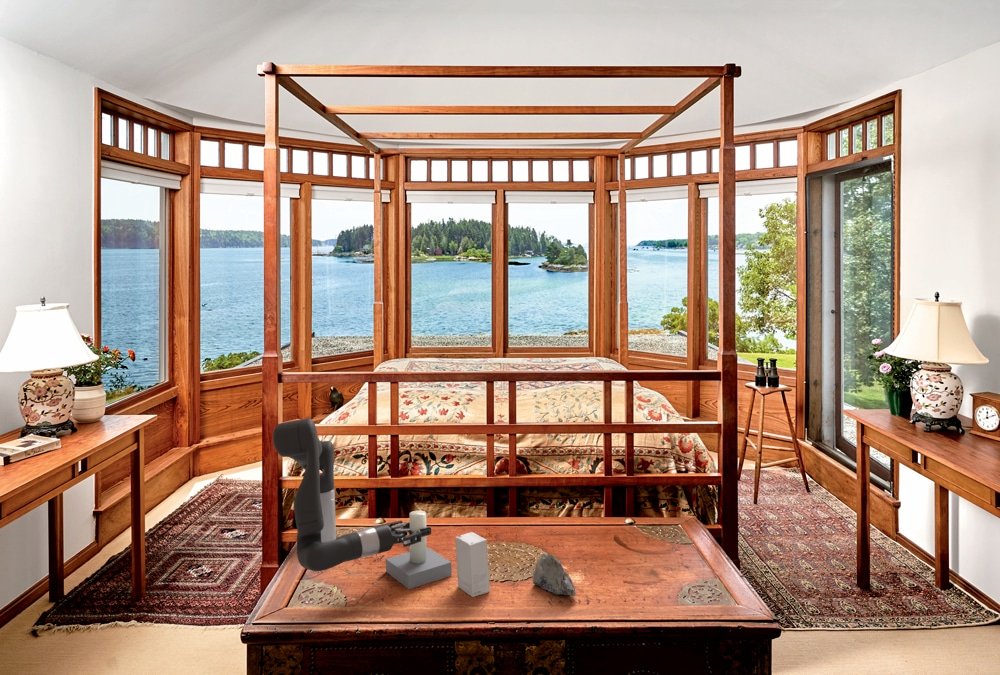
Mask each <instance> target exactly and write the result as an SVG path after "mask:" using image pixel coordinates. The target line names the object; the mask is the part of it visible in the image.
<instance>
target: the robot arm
mask: <svg viewBox="0 0 1000 675" xmlns="http://www.w3.org/2000/svg"><path fill="white" fill-rule="evenodd" d="M272 444H273V447H274V450H275V451H276V452H277V454H278V455H279V456H280V457H283V458H290V459H292V460H293V461H294V462H297V463H298V464H299V466H300V467H301V468H302V469H303V470H305V472H304V474H303V477H302V479H301V482H300V483H299V486H298V488H297V491H296V493H295V497H294V500H293V510H294V518H295V525H296V531H297V532H296V556H297V561H298V562H299V564H300V566H301V567H302V568H304V569H306V570H309V571H312V572H322V571H326V570H328V569H332V568H334V567H337V566H338V565H341V564H343V563H345V562H350V561H353V560H358V559H360V558H368V557H371V556H375V555H378V554H383V553H386V552H389V551H391V550H392V549H393V547H394V545H396V544H402V546H403V547H404V548H406V547H410V545H412V544H415V543H418V542H421V537H424V536H426V537H427V536H430V535H431V534H432V527H430V526H426V527H425V528H422V529H419V530H412V529H410V521H403V520H397V521H396V520H395V521H392V522H387V523H382V524H377V525H374V526H370V527H366V528H362V529H359V530H357V531H354V532H350V533H346V534H343V535H340V536H337V529H336V528H337V526H336V525H337V524H336V523H337V522H336V520H337V519H336V499H335V498H336V496H335V495H336V494H335V473H334V472H335V470H334V467H335V466H334V465H335V464H334V463H335V447H334V444H333V443H332V441H329V440H320V439H319V437H318V430H317V426H316V424H315V422H314V420H313V419H311V418H302V419H296V420H289V421H284V422H281V423H278V424H277V425H276V426H275V428H274V430H273V433H272ZM320 470H321V471H322V470H323V472H321V473H320ZM412 533H414V534H412Z"/></svg>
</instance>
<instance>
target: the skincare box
mask: <svg viewBox="0 0 1000 675" xmlns="http://www.w3.org/2000/svg"><path fill="white" fill-rule="evenodd" d="M488 553H489V552H488V540H487V539H486V538H484V537H482V536H481V535H479V534H477V533H475V532H474V531H471V532H467V533H464V534H461V535H458V536H455V554H456V570H457V571H456V572H457V586H458V588H459V589H460V590H462V591H463V592H464V593H466V594H467V595H469V596H470V597H472V598H475V597H477V596H481V595H485V594H487V593H490V591H491V590H490V589H491V588H490V571H489V557H488V556H489V555H488Z"/></svg>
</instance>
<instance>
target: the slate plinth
mask: <svg viewBox="0 0 1000 675" xmlns="http://www.w3.org/2000/svg"><path fill="white" fill-rule="evenodd" d="M385 572H386V573H387V574H388V575H390V577H392V578H393V579H395V580H396V581H398V582H399V583H400V584H401V585H403V586H404V587H405V588H406V589H407V590H411V589H414V588H415V589H416V588H418V587H421V586H423V585H427V584H430V583H433V582H435V581H438V580H442V579H446V578H448V577H451V576H452V575H453V574H452V561H450V560H448V559H447V558H446V557H444V556H442V555H441V554H440V553H438V552H436V551H434V550H433V549H431V548H430V547H429V546H426V561H425V562H424V563H419V564H415V563H411V562H410V551H408V552H404V553H401V554H397V555H393V556H390V557H386V558H385Z"/></svg>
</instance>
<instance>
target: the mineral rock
mask: <svg viewBox="0 0 1000 675" xmlns="http://www.w3.org/2000/svg"><path fill="white" fill-rule="evenodd" d="M532 574H533V575H532V578H533V579H532V585H534V586H538V587H540V588H541V589H543V590H545V591H547V592H549V593H553V595H564V596H568V595H569V596H571V597H575V596H576V595H577V594H576V588H575V586H574V583H573V580H572V578H571V577H570V576H569V574H568V573H567V571H565V569H564V567H563V565H562V562H561V561H560V560H559V559H558V558H557V557H555V555H553V554H548V553H546V552H544V553H542V554H541V555H540V557H539V558H538V560H537V562H536V565H535V568H534V572H533V573H532Z"/></svg>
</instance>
